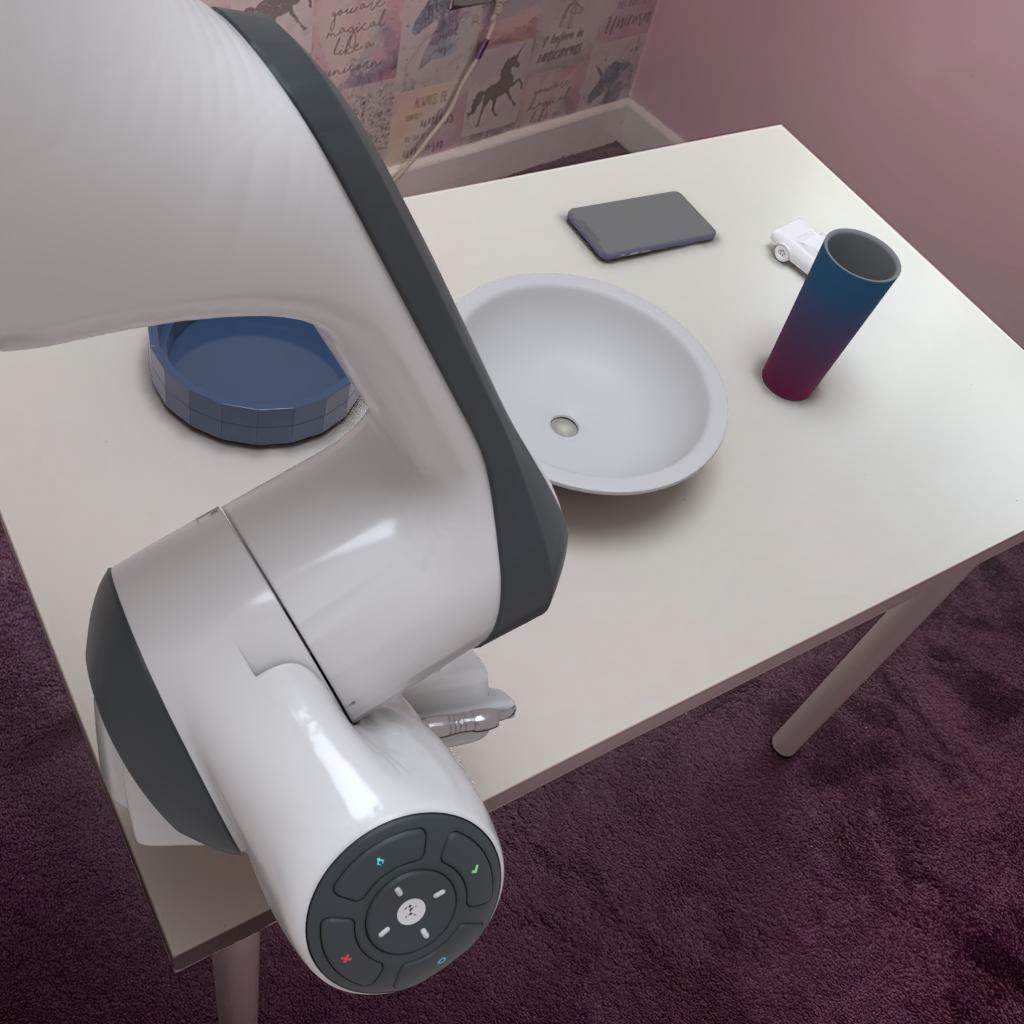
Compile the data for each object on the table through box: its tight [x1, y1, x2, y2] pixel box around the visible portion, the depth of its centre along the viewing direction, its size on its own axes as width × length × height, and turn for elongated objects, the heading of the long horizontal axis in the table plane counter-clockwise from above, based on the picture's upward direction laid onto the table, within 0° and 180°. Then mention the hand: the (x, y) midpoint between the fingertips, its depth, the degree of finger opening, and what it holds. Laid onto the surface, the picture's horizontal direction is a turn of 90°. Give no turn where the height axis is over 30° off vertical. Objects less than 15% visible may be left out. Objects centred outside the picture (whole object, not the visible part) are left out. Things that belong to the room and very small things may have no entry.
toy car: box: [770, 218, 827, 276], centre depth 110 cm, size 6×12×3 cm, turn 42°
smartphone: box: [566, 190, 717, 261], centre depth 108 cm, size 8×1×15 cm
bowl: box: [147, 316, 360, 446], centre depth 83 cm, size 16×16×4 cm
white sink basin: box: [455, 272, 729, 496], centre depth 86 cm, size 24×24×7 cm
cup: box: [761, 227, 902, 401], centre depth 93 cm, size 7×7×15 cm
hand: (279, 670), depth 62 cm, fingers closed on block, 4 cm apart
